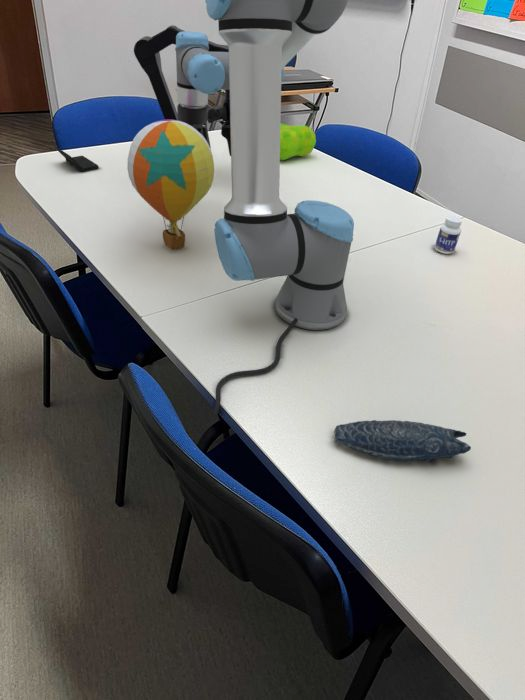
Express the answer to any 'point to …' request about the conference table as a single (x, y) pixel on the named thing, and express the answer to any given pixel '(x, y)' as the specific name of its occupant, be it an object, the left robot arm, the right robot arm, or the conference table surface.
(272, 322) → the conference table surface
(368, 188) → the conference table surface
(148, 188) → the toy
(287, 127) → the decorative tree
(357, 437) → the fish model
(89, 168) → the black flat handled piece
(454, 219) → the pill bottle
